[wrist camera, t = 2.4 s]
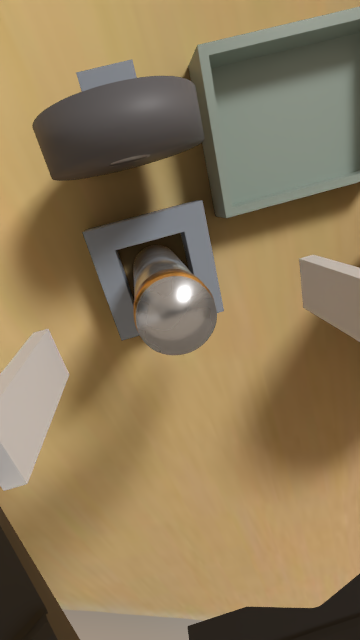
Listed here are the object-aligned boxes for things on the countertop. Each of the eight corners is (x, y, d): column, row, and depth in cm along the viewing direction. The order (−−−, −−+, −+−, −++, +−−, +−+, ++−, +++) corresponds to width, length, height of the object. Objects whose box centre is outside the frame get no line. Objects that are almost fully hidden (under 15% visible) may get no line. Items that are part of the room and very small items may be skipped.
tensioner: (122, 328, 27) (118, 394, 18) (47, 118, 20) (-20, 50, 11) (216, 301, 27) (259, 351, 18) (172, 88, 21) (206, -2, 12)
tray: (215, 216, 25) (226, 218, 22) (188, 66, 21) (197, 45, 18) (372, 173, 25) (402, 170, 23) (376, 20, 21) (412, -7, 19)
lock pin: (140, 297, 26) (147, 366, 15) (125, 251, 24) (122, 290, 13) (185, 284, 26) (225, 343, 15) (174, 237, 25) (209, 266, 14)
